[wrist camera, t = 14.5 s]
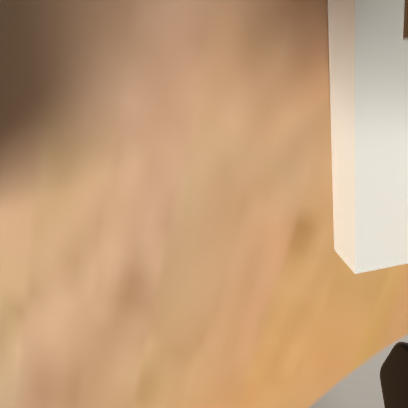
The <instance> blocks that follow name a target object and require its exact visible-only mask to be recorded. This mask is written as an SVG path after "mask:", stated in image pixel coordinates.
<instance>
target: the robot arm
mask: <svg viewBox="0 0 408 408" xmlns="http://www.w3.org/2000/svg"><path fill="white" fill-rule="evenodd" d="M380 380H381V387H382V393H383V399H384V405H385V408H408V343H405V342H398V343H397V344H396V345H395V346H394V347H393V349H392V351H391V352H390V354H389V356H388V357H387V359H386V360H385V362H384V363H383V365H382V367H381V371H380Z"/></svg>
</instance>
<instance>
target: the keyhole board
mask: <svg viewBox="0 0 408 408" xmlns="http://www.w3.org/2000/svg"><path fill="white" fill-rule="evenodd" d="M404 6H405V0H328V32H329V69H330V106H331V144H332V181H333V218H334V250H335V251H336V252H337V254H338V255H339V256H340V257H341V258H342V259H343V261H344V262H345V263H346V264H347V265H348V266H349V267H350V269H351V270H352V271H353V272H354V273H355V274H357V273H362V272H367V271H372V270H377V269H382V268H387V267H392V266H397V265H402V264H407V263H408V37H403V28H404Z"/></svg>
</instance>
